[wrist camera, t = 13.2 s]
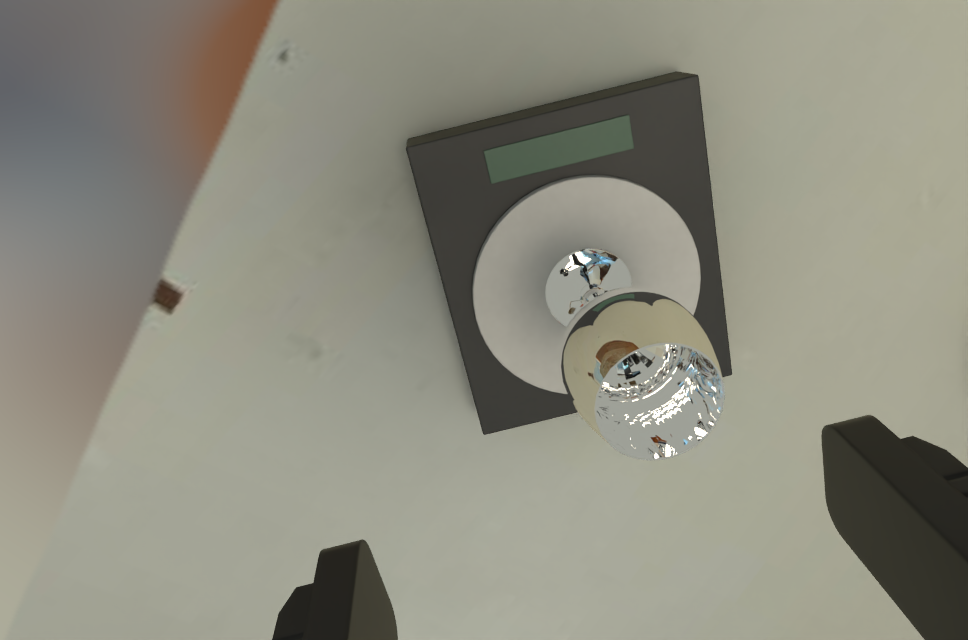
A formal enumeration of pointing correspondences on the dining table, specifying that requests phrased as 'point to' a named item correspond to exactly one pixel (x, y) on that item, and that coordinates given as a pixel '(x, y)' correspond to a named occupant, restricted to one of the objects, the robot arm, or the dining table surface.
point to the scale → (566, 227)
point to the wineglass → (632, 358)
